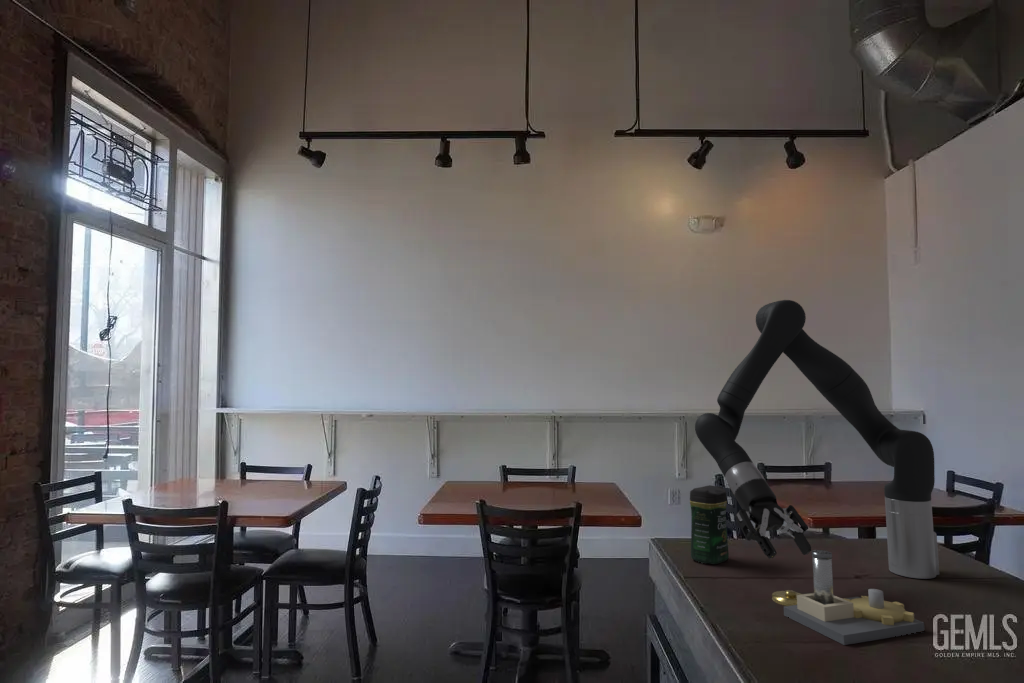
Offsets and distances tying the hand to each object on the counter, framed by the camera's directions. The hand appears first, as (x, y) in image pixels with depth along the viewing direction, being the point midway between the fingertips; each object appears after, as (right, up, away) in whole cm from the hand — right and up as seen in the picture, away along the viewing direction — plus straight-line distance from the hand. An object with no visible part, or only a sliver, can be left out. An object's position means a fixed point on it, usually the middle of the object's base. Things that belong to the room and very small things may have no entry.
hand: (790, 554), depth 118 cm
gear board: (+7, -9, -9) cm, 15 cm away
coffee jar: (-6, -13, +32) cm, 35 cm away
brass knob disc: (+1, -11, +2) cm, 11 cm away
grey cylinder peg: (+2, -8, -8) cm, 12 cm away
